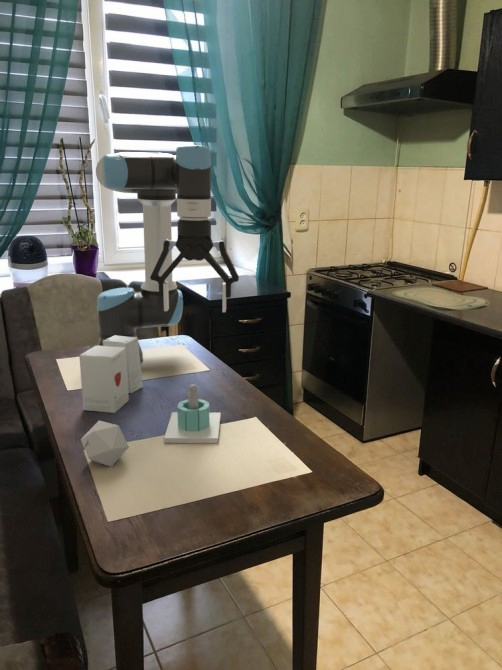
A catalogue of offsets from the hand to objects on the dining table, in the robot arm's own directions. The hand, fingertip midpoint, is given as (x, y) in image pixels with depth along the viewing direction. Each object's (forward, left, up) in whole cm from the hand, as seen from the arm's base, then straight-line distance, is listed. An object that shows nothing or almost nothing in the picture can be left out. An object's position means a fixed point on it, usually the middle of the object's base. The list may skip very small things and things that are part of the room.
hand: (195, 310), depth 127 cm
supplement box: (-7, -24, -27) cm, 37 cm away
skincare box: (-19, -22, -27) cm, 40 cm away
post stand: (+7, 0, -27) cm, 28 cm away
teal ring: (+7, 0, -26) cm, 27 cm away
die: (+22, -17, -27) cm, 39 cm away
